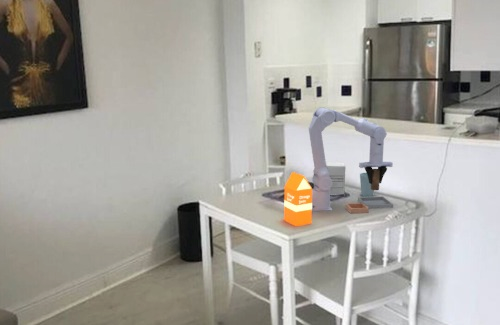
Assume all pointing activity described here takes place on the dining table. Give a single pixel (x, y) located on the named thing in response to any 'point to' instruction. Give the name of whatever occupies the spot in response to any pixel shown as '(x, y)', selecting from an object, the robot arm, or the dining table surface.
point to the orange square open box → (357, 208)
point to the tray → (375, 202)
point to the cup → (365, 186)
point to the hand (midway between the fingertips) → (374, 183)
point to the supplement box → (336, 177)
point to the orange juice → (298, 200)
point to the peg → (375, 179)
